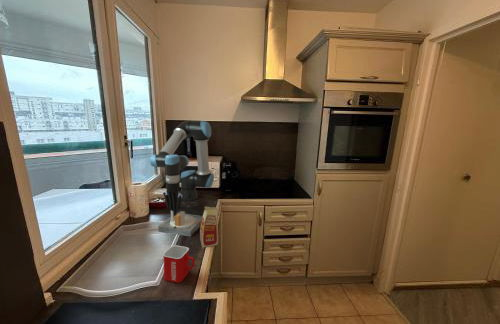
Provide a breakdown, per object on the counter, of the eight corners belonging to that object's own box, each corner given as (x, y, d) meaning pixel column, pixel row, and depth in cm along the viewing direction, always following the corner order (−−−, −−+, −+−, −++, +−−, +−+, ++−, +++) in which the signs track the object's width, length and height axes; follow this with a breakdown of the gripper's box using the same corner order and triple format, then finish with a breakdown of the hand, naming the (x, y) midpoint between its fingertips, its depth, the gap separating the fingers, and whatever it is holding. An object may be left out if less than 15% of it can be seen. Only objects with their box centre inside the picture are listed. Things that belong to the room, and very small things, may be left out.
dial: (178, 216, 140) (178, 205, 139) (199, 219, 137) (199, 208, 136) (164, 226, 125) (164, 214, 124) (188, 230, 122) (188, 218, 121)
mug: (161, 280, 86) (160, 255, 84) (173, 267, 94) (173, 244, 92) (189, 286, 83) (188, 261, 82) (198, 272, 91) (198, 249, 90)
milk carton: (202, 247, 110) (202, 210, 106) (199, 238, 118) (199, 204, 115) (220, 244, 113) (220, 208, 110) (215, 236, 122) (216, 202, 118)
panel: (176, 217, 143) (176, 212, 142) (205, 221, 139) (205, 215, 139) (158, 231, 124) (158, 225, 123) (190, 236, 120) (190, 230, 119)
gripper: (158, 181, 122) (160, 221, 126) (177, 184, 118) (178, 225, 121) (168, 179, 129) (169, 216, 133) (186, 181, 124) (186, 220, 128)
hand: (173, 220), depth 127 cm, fingers closed
